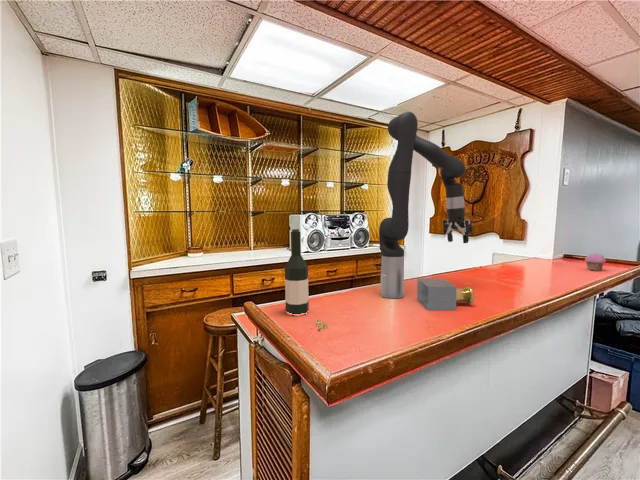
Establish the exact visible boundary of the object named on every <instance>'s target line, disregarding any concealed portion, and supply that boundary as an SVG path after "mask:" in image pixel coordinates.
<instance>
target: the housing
mask: <svg viewBox="0 0 640 480" xmlns="http://www.w3.org/2000/svg"><path fill="white" fill-rule="evenodd" d="M416 281H417V285H416V289H417V290H416V294H417V295H416V300H417V301H418V302H419V303H420V304H421V305H422V306H423V307H424V308H425V309H426V310H427V311H457V302H456V290H457V289H458V288H457V286H456V285H455V284H452V283H451V282H449V281H448V280H446V279H444V278H443V277H442V278H441V277H440V278H439V277H437V278H435V277H433V278H429V277H428V278H424V277H423V278H420V277H419V278H417V279H416Z"/></svg>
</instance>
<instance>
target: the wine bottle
mask: <svg viewBox="0 0 640 480" xmlns="http://www.w3.org/2000/svg"><path fill="white" fill-rule="evenodd" d="M301 241H302V240H301V231H300V229H299V228H295V229H294V228H293V229H291V231H290V246H291V247H290V253H291V254H290V257H289V259H288V261H287V262H286V264H285V266H284V290H285V291H284V292H285V293H284V294H285V296H284V297H285V312H286V311H287V312H289V313H292V314H301V313H306V312H307V311H308V310H309V311H310V308H309V307H310V306H309V305H310V303H309V301H310V300H309V266H308V264H307V262H306V261H305V259H304V258H303V256H302V250H301V249H302V243H301Z"/></svg>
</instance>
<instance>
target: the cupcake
mask: <svg viewBox="0 0 640 480" xmlns="http://www.w3.org/2000/svg"><path fill="white" fill-rule="evenodd" d="M584 261H585V262H586V267H587V269H588V270H589V271H594V272H600V271H602V270H603V265H604V263H606V261H607V259H606V257H605V256H604V255H603V254H598V253H590V254H588V255H586V256H585V258H584Z"/></svg>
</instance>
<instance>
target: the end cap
mask: <svg viewBox="0 0 640 480" xmlns="http://www.w3.org/2000/svg"><path fill="white" fill-rule="evenodd" d="M474 300H475V293H474V289H473V287H472V286H465V287H464V288H457V290H456V303H465V304H467V305H470V304H474Z"/></svg>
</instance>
